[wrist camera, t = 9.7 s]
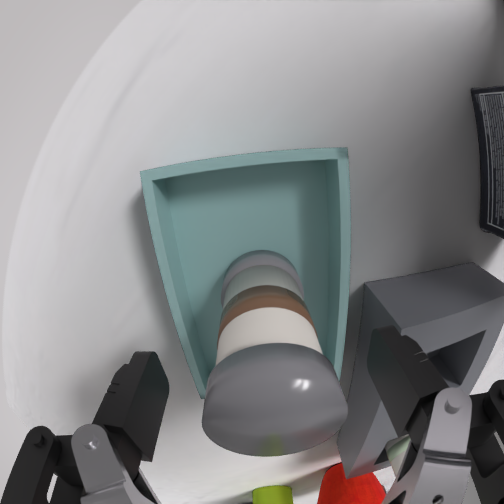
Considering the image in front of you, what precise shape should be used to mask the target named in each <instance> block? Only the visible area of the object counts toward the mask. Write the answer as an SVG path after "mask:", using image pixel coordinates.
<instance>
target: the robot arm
mask: <svg viewBox="0 0 504 504" xmlns="http://www.w3.org/2000/svg"><path fill="white" fill-rule="evenodd" d="M367 368H368V372H369V375H370V377H371V379H372V381H373V383H374V385H375V387H376V389H377V392H378V394H379V396H380V398H381V400H382V402H383V405H384V407H385V409H386V411H387V413H388V416H389V418H390V420H391V422H392V425H393V427H394V429H395V431H396V434H397V436H398V438H400V437H402V436H405V435H408V434H409V436H410V439H411V440H410V442H409V444H408V447H407V450H406V453H405V456H404V458H403V461H402V464H401V466H400V469H399V471H398V474H397V476H396V479H395V481H394V483H393V485H392V487H391V489H390V490H389V492H388V493H387V495H386V496H385V498H384V500H383V501H382V503H381V504H462V502H463V499H464V495H465V492H466V488H467V484H468V480H469V475H470V474H471V476H472V479H473V481H474V484H475V487H476V490H477V493H478V496H479V499H480V501H481V504H504V454H503V451H502V449H501V448H500V445H499V443H498V441H497V439H496V437H495V435H494V433H495V432H496V431H497V433H498V435H499V437H500V439H501V441H502V443H503V444H504V380H498V381H496V382H495V383H493V385H492V386H491V388H490V389H489V391H488V392H486V393H481V394H475V395H468V394H467V393H466V392H465V391H463V390H462V389H459V388H453V387H452V388H450V387H449V386H448V385H447V383H446V382H445V380H444V379H443V377H442V376H441V375H440V373H439V372H438V370H437V369H436V367H435V366H434V365H433V363H432V362H431V361H430V360H429V359H428V356H427V355H426V354H425V352H424V353H423V350H422V348H421V347H420V346H419V344H418V343H417V342H416V341H415V340H413V339H412V338H410V337H409V336H407V335H403V336H401V334H400V333H399V332H398V330H397V329H396V328H395V326H393V325H389V326H384V327H380V328H375V329H373V331H372V334H371V340H370V346H369V351H368V356H367ZM168 395H169V382H168V379H167V377H166V374H165V372H164V370H163V367H162V365H161V363H160V360H159V358H158V355H157V354H156V353H155V352H139V351H137V352H135V353H134V354H133V356H132V358H131V361H130V363H129V364H124V365H123V366H122V367H121V368H120V369H119V370H118V371H117V372H116V373H115V375H114V377H113V380H112V382H111V385H110V386H109V388H108V390H107V393H106V394H105V396H104V398H103V401H102V403H101V405H100V407H99V409H98V411H97V414H96V416H95V418H94V420H93V422H92V424H87V425H84V426H81V427H80V428H78V429H77V430H76V431H75V433H74V434H73V435H63V436H55V435H54V434H53V433H52V432H51V431H50V429H48V428H47V427H45V426H37V427H35V428H33V429H32V430H30V431H29V433H28V434H27V436H26V438H25V440H24V443H23V444H22V447H21V449H20V451H19V454H18V456H17V458H16V461H15V463H14V466H13V468H12V471H11V474H10V476H9V479H8V482H7V484H6V487H5V490H4V493H3V496H2V499H1V503H0V504H161V502H160V501H159V499H158V498H157V496H156V494H155V493H154V491H153V490H152V488H151V486H150V485H149V483H148V481H147V479H146V478H145V476H144V474H143V472H142V471H141V469H140V468H139V466H140V462H141V460H142V461H149V462H152V459H153V454H154V450H155V446H156V442H157V438H158V434H159V430H160V426H161V422H162V418H163V414H164V410H165V406H166V402H167V399H168ZM53 473H54V474H55V475H57V476H58V477H57V480H56V484H55V487H54V490H53V493H52V497H51V501H50V503H48V501H47V492H48V489H49V486H50V482H51V479H52V476H53Z"/></svg>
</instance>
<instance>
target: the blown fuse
mask: <svg viewBox="0 0 504 504" xmlns="http://www.w3.org/2000/svg"><path fill="white" fill-rule="evenodd" d="M221 305H222V308H223V311H222V314H221V319H220V325H219V333H218V340H217V358H216V366H215V367H214V368H213V370H212V372H211V373H210V375H209V378H208V381H207V387H206V394H205V402H204V409H203V416H202V427H203V430H204V432H205V434H206V435H207V436H208V437H209V439H210V440H212V441H213V442H214V443H216V444H217V445H219V446H220V447H222V448H225V449H227V450H229V451H232V452H236V453H239V454H244V455H250V456H263V457H265V456H281V455H288V454H293V453H297V452H301V451H304V450H307V449H310V448H312V447H314V446H317V445H319V444H320V443H322V442H324V441H326V440H327V439H329V438H330V437H331V436H333V435H334V434H335V433H336V432H337V431H338V430H339V429H340V428H341V427H342V426H343V424H344V422H345V421H346V418H347V416H348V405H347V402H346V400H345V397H344V394H343V391H342V388H341V385H340V383H339V380H338V377H337V374H336V372H335V369H334V366H333V365H332V363H331V362H330V360H329V359H328V358H327V357H326V356H324V355H323V353H322V350H321V347H320V345H319V342H318V336H317V332H316V329H315V327H314V324H313V321H312V318H311V316H310V313H309V310H308V308H307V306H306V304H305V302H304V290H303V286H302V283H301V281H300V278H299V276H298V273H297V271H296V269H295V267H294V265H293V264H292V263H291V262H290V261H289V260H288V259H287V258H286V257H284V256H283V255H281V254H279V253H277V252H274V251H269V250H255V251H250V252H247V253H245V254H243V255H241V256H239V257H238V258H236V259H235V260H234V261H233V262H232V263H231V264H230V266H229V267H228V268H227V270H226V272H225V275H224V279H223V285H222V291H221Z"/></svg>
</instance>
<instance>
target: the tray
mask: <svg viewBox="0 0 504 504" xmlns="http://www.w3.org/2000/svg"><path fill="white" fill-rule="evenodd" d="M140 175H141V182H142V188H143V194H144V199H145V205H146V210H147V215H148V220H149V225H150V230H151V235H152V239H153V244H154V248H155V252H156V257H157V261H158V265H159V269H160V273H161V277H162V281H163V284H164V288H165V292H166V295H167V299H168V303H169V306H170V310H171V313H172V316H173V320H174V323H175V326H176V329H177V333H178V336H179V339H180V342H181V345H182V348H183V351H184V354H185V357H186V360H187V363H188V365H189V368H190V371H191V374H192V376H193V379H194V382H195V385H196V387H197V390H198V392H199V395H200V398H201V399H205V394H206V387H207V381H208V378H209V375H210V373H211V372H212V370H213V368H214V367H215V366H216V358H217V340H218V333H219V325H220V319H221V314H222V311H223V308H222V305H221V291H222V285H223V279H224V275H225V272H226V270H227V268H228V267H229V266H230V264H231V263H232V262H233V261H234V260H235V259H236V258H238V257H239V256H241V255H243V254H245V253H247V252H250V251H255V250H269V251H274V252H277V253H279V254H281V255H283V256H284V257H286V258H287V259H288V260H289V261H290V262H291V263H292V264H293V265H294V267H295V269H296V271H297V273H298V276H299V278H300V281H301V283H302V286H303V290H304V302H305V304H306V306H307V308H308V310H309V313H310V316H311V318H312V321H313V324H314V327H315V329H316V332H317V336H318V342H319V345H320V347H321V350H322V353H323V355H324V356H326V357H327V358H328V359H329V360H330V362H331V363H332V365H333V366H334V369H335V372H336V374H337V377H338V380H339V382H340V376H341V368H342V361H343V353H344V344H345V335H346V325H347V313H348V300H349V283H350V256H351V205H350V179H349V162H348V149H347V147H345V148H313V149H295V150H281V151H269V152H259V153H249V154H241V155H232V156H225V157H217V158H211V159H204V160H198V161H191V162H186V163H180V164H174V165H169V166H164V167H159V168H154V169H149V170H145V171H140Z"/></svg>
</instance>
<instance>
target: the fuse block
mask: <svg viewBox="0 0 504 504" xmlns="http://www.w3.org/2000/svg"><path fill="white" fill-rule="evenodd" d="M503 323H504V283H503V282H501V281H500V280H499V279H497V278H496V277H494V276H493V275H491V274H490V273H488V272H487V271H485V270H484V269H482V268H481V267H479V266H478V265H476V264H475V263H473V262H471V263H466V264H462V265H457V266H453V267H448V268H443V269H438V270H433V271H428V272H423V273H418V274H412V275H407V276H401V277H396V278H390V279H384V280H378V281H372V282H366V283H365V286H364V297H363V307H362V316H361V325H360V332H359V340H358V346H357V353H356V359H355V365H354V370H353V376H352V381H351V386H350V391H349V396H348V400H347V405H348V416H347V418H346V421H345V422H344V424H343V426H342V427H341V429H340V433H339V437H338V441H337V445H338V449H339V453H340V457H341V461H342V465H343V469H344V473H345V477H346V479H350V478H353V477H357V476H361V475H364V474H368V473H371V472H374V471H377V470H380V469H383V468H386V467H389V466H392V468H393V471H394V474H395V477H396V476H397V474H398V471H399V469H400V466H401V464H402V461H403V458H404V456H405V453H406V450H407V447H408V444H409V442H410V440H411V439H410V436H409V434H408V435H405V436H402V437H400V438H398V436H397V434H396V431H395V429H394V427H393V425H392V422H391V420H390V418H389V416H388V413H387V411H386V409H385V407H384V405H383V402H382V400H381V398H380V396H379V394H378V392H377V389H376V387H375V385H374V383H373V381H372V379H371V377H370V375H369V372H368V368H367V356H368V351H369V346H370V340H371V334H372V331H373V329H375V328H380V327H384V326H389V325H393V326H395V328H396V329H397V330H398V332H399V333H400V334H401V336H403V335H407V336H409V337H410V338H412V339H413V340H415V341H416V342H417V343H418V344H419V346H420V347H421V348H422V350H423V353H424V352H425V354H426V355H427V356H428V359H429V360H430V361H431V362H432V363H433V365H434V366H435V367H436V369H437V370H438V372H439V373H440V375H441V376H442V377H443V379H444V380H445V382H446V383H447V385H448V386H449V387H450V388H452V387H453V388H459V389H462V390H463V391H465V392H466V393H467V394H468V395H469V394H470V392H471V391H472V389H473V387H474V385H475V384H476V382H477V380H478V378H479V376H480V374H481V372H482V370H483V369H484V367H485V365H486V363H487V360H488V358H489V356H490V354H491V352H492V350H493V348H494V345H495V343H496V341H497V338H498V336H499V333H500V331H501V328H502V326H503Z"/></svg>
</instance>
